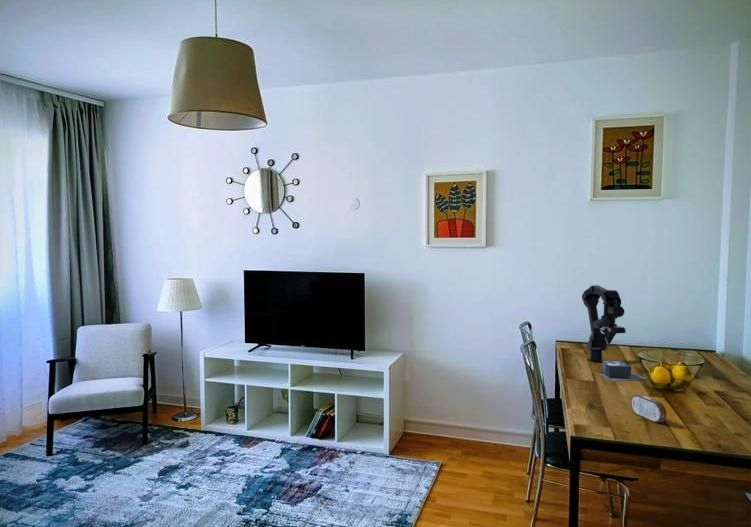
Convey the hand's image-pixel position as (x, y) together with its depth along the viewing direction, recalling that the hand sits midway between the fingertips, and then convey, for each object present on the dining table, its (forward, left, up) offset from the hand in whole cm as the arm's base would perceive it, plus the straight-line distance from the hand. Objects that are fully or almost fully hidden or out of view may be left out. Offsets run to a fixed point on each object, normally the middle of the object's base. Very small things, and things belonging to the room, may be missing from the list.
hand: (608, 343), depth 266 cm
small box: (+9, -4, -9) cm, 13 cm away
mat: (+16, -3, -13) cm, 21 cm away
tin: (+68, -31, -13) cm, 76 cm away
